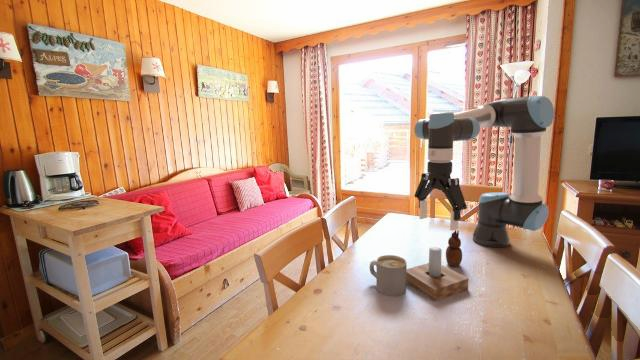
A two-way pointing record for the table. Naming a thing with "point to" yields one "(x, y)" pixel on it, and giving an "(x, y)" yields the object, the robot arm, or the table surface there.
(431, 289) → the bore block
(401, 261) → the coffee mug
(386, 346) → the table surface
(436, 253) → the peg
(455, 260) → the wooden figurine
